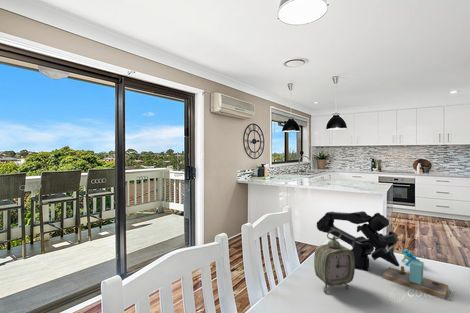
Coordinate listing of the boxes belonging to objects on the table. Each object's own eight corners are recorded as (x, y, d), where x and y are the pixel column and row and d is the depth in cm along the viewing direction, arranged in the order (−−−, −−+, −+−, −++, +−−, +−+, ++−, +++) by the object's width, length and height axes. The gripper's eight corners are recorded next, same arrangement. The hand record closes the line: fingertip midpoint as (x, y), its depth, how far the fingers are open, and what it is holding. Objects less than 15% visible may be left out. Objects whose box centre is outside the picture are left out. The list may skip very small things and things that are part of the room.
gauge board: (382, 278, 114) (382, 267, 114) (389, 270, 121) (389, 260, 121) (445, 299, 99) (445, 287, 98) (448, 289, 106) (448, 278, 105)
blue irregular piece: (428, 267, 122) (412, 251, 123) (420, 275, 122) (404, 260, 123) (414, 260, 133) (399, 246, 134) (406, 268, 133) (392, 253, 134)
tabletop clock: (324, 296, 100) (325, 234, 99) (311, 284, 109) (312, 227, 108) (354, 290, 104) (356, 231, 103) (339, 279, 113) (341, 224, 112)
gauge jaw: (409, 281, 107) (409, 262, 107) (413, 275, 113) (413, 257, 112) (420, 284, 105) (421, 266, 104) (424, 278, 110) (424, 260, 109)
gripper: (380, 231, 109) (409, 264, 102) (392, 222, 122) (418, 251, 114) (360, 243, 115) (386, 276, 108) (374, 234, 128) (398, 262, 120)
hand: (398, 266), depth 112 cm, fingers closed
